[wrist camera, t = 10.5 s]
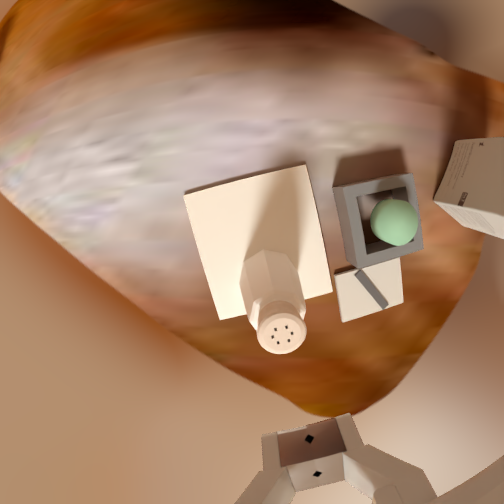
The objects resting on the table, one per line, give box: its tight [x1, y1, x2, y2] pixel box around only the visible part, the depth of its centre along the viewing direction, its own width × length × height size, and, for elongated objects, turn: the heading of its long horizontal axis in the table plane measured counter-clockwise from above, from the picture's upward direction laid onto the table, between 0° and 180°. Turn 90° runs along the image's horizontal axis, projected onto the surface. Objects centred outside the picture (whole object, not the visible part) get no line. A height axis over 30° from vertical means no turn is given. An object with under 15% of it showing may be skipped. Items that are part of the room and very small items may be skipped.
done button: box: [370, 199, 418, 246], centre depth 22 cm, size 4×4×2 cm
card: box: [334, 257, 403, 322], centre depth 27 cm, size 5×7×1 cm
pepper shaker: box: [239, 249, 306, 354], centre depth 21 cm, size 5×5×11 cm
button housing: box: [332, 173, 424, 269], centre depth 25 cm, size 7×7×3 cm
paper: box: [184, 165, 333, 320], centre depth 26 cm, size 12×11×1 cm
